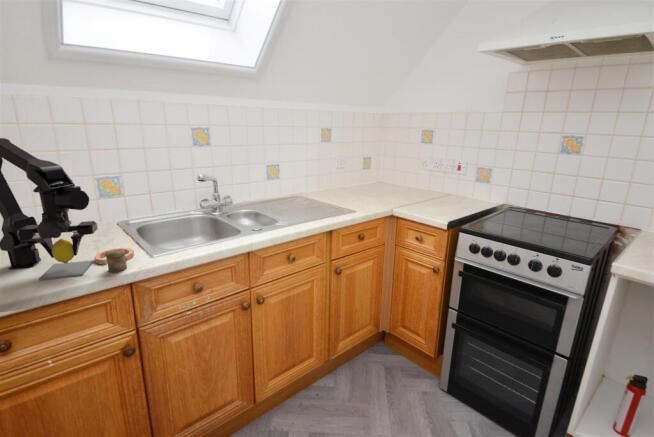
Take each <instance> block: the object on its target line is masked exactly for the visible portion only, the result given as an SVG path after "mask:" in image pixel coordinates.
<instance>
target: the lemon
mask: <svg viewBox="0 0 654 437" xmlns="http://www.w3.org/2000/svg"><path fill="white" fill-rule="evenodd" d="M52 254H53V257H54V259H55V261H57V262H60V263H65V264H66V263H69V262H71V261H72V260H73V259H74V257H75V256H74V252H73V242H72V241H69V240H67V239H63V238H59V240H57V241H55V242H54V244H53V247H52Z"/></svg>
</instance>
